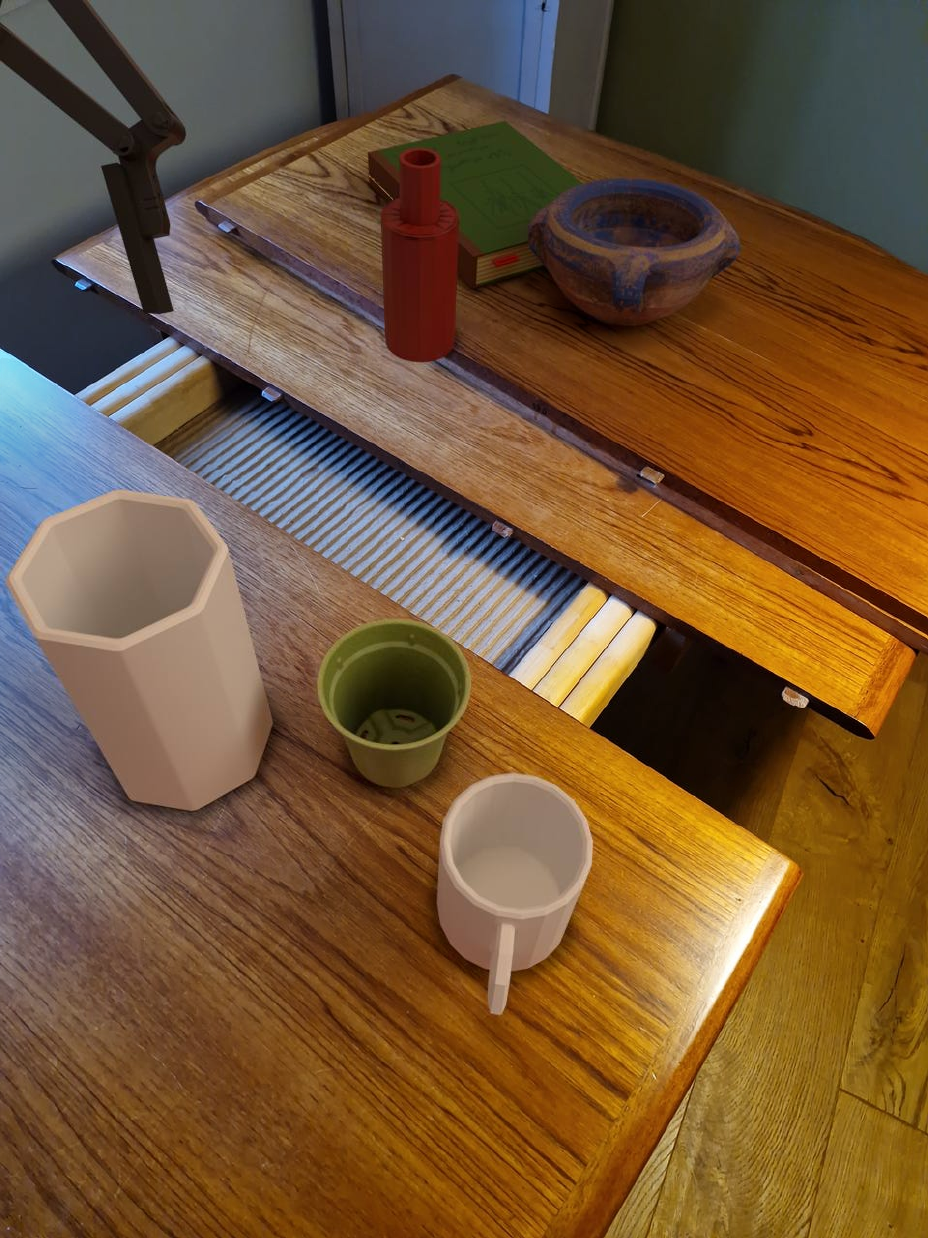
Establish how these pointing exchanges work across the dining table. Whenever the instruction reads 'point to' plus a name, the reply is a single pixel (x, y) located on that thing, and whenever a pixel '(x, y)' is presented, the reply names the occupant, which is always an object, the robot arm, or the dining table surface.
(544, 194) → the book
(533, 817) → the mug
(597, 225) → the bowl
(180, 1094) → the dining table surface
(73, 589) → the cup
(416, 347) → the sauce bottle
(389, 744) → the plant pot
